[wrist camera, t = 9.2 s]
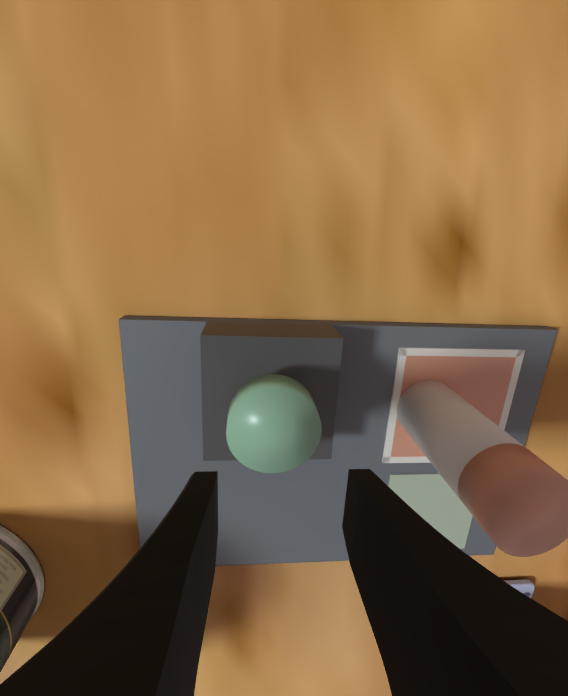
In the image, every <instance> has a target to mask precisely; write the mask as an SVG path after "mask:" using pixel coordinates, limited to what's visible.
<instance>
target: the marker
mask: <svg viewBox="0 0 568 696" xmlns="http://www.w3.org/2000/svg"><path fill="white" fill-rule="evenodd" d="M396 413H397V418H398V421H399V423H400V424H401V426H402V427H403V428H404V429H405V431H406V432H407V433H408V434H409V436H410V437H411V438H412V439H413V441H414V442H415V443H416V445H417V446H418V447H419V448H420V450H421V451H422V452H423V453H424V455H425V456H426V457H427V458H428V460H429V461H430V462H431V464H432V465H433V466H434V467H435V469H436V470H437V471H438V472H439V474H440V475H441V476H442V477H443V479H444V480H445V481H446V483H447V484H448V485H449V486H450V488H451V489H452V490H453V491H454V493H455V494H456V495H457V497H458V498H459V499H460V500H461V502H462V503H463V504H464V505H465V507H466V508H467V509H468V510H469V512H470V513H471V514H472V516H473V517H474V518H475V519H476V521H477V522H478V523H479V524H480V526H481V527H482V528H483V529H484V531H485V532H486V533H487V535H488V536H489V537H490V538H491V540H492V541H493V542H494V543H495V545H496V546H497V547H498V548H499V549H500V550H501V551H503V552H504V553H507V554H509V555H513V556H518V557H527V556H534V555H538V554H542V553H544V552H547V551H549V550H551V549H553V548H555V547H556V546H558V545H559V544H561V543H562V542H563V541H564V540H566V539H567V538H568V480H567V479H565V478H564V477H563V476H562V475H560V474H559V473H558V472H557V471H555V470H554V469H553V468H551V467H550V466H549V465H548V464H546V463H545V462H544V461H542V460H541V459H540V458H539V457H537V456H536V455H535V454H533V453H532V452H531V451H530V450H528V449H527V448H526V447H524V446H523V445H522V444H521V443H519V442H518V441H517V440H516V439H514V438H513V437H512V436H510V435H509V434H508V433H507V432H505V431H504V430H503V429H501V428H500V427H499V426H498V425H496V424H495V423H494V422H492V421H491V420H490V419H489V418H487V417H486V416H485V415H484V414H482V413H481V412H480V411H478V410H477V409H476V408H475V407H473V406H472V405H471V404H469V403H468V402H467V401H466V400H464V399H463V398H462V397H460V396H459V395H458V394H457V393H455V392H454V391H453V390H452V389H450V388H449V387H448V386H446V385H445V384H444V383H442V382H439V381H436V380H424V381H420V382H418V383H415V384H414V385H412V386H410V387H409V388H408V389H407V390H406V391H405V392H404V393H403V394H402V396H401V397H400V399H399V401H398V404H397V410H396Z"/></svg>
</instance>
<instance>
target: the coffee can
mask: <svg viewBox="0 0 568 696" xmlns="http://www.w3.org/2000/svg"><path fill="white" fill-rule="evenodd" d="M43 594H44V576H43V572H42V568H41V566H40V564H39V562H38V560H37V558H36V556H35V555H34V553H33V551H32V550H31V549H30V548H29V547H28V546H27V545H26V544H25V543H24V542H23V541H22V540H21V539H20V538H19V537H18V536H16V535H15V534H14V533H12V532H11V531H9V530H8V529H6V528H4V527H3V526H1V525H0V672H1V670H2V668H3V667H4V665H5V663H6V661H7V659H8V658H9V656H10V654H11V652H12V651H13V649H14V647H15V645H16V643H17V642H18V640H19V638H20V637H21V635H22V633H23V631H24V629H25V627H26V625H27V624H28V622H29V620H30V619H31V617H32V616H33V615H34V614H35V613H36V611H37V609H38V608H39V606H40V603H41V601H42V598H43Z"/></svg>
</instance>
